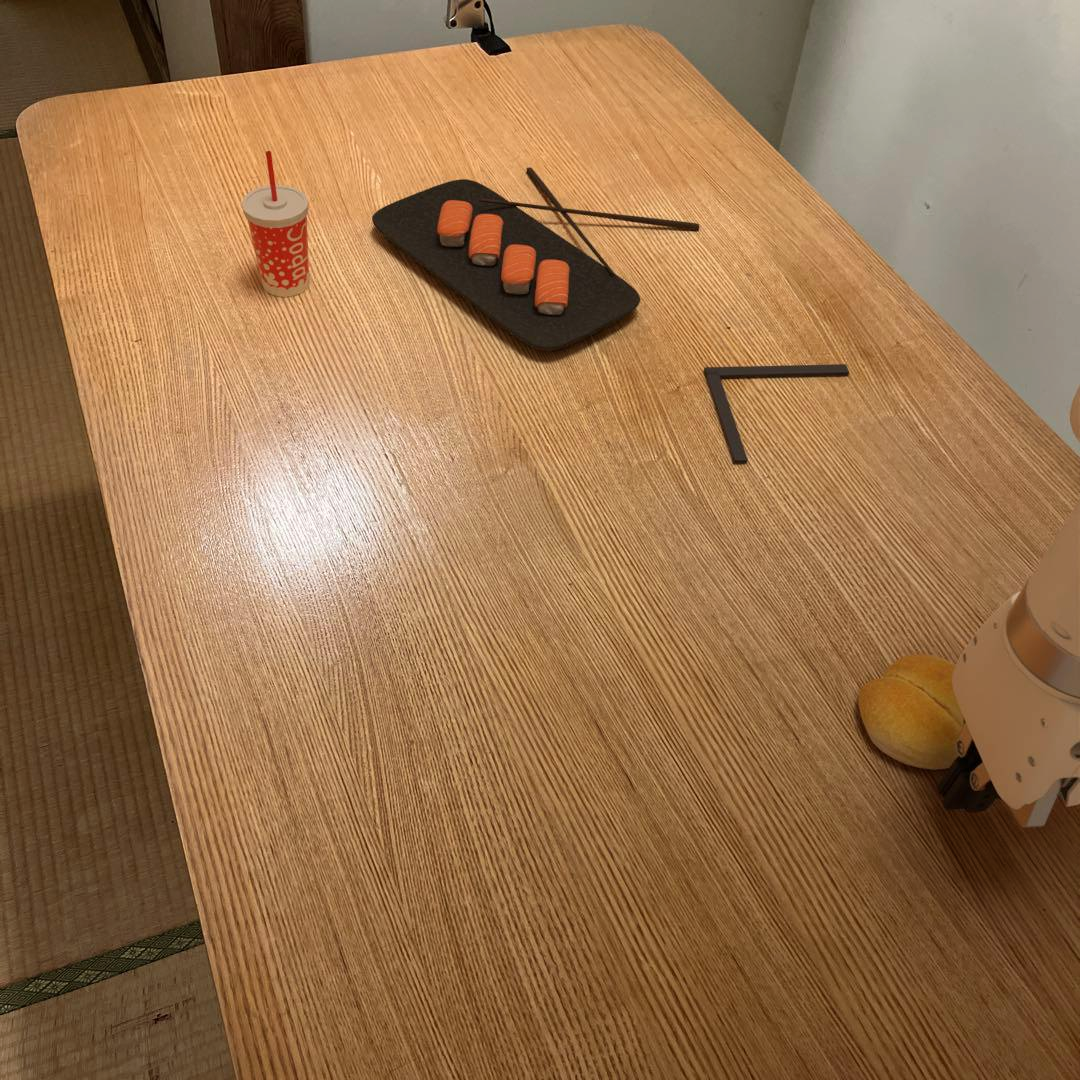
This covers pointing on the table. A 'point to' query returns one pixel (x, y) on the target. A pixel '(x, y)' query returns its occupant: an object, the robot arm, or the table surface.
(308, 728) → the table surface
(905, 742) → the bread roll
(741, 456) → the corner guide
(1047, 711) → the robot arm
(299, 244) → the beverage cup
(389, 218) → the sushi plate
